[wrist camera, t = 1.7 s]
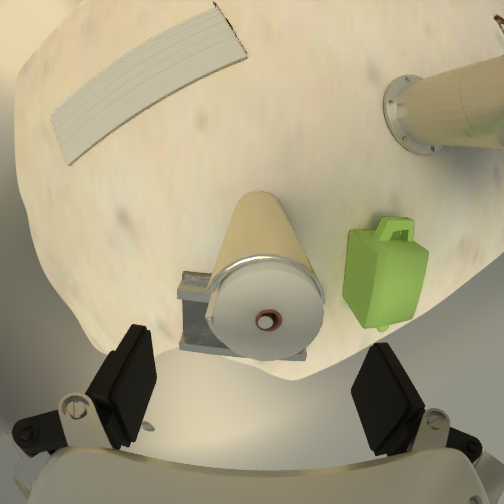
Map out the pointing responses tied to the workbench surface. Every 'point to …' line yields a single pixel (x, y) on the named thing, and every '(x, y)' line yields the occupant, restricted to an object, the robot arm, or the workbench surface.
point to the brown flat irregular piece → (499, 21)
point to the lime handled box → (384, 273)
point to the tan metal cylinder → (263, 284)
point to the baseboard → (144, 80)
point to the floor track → (204, 319)
